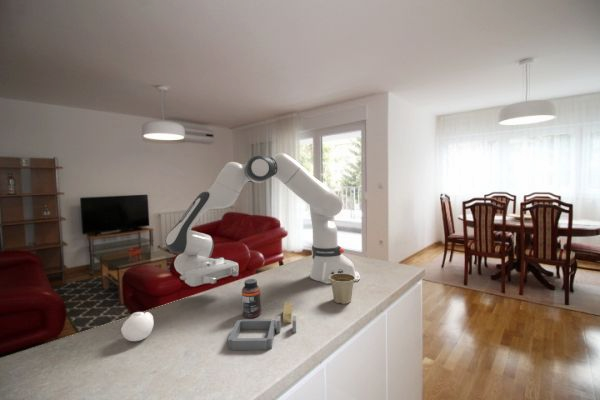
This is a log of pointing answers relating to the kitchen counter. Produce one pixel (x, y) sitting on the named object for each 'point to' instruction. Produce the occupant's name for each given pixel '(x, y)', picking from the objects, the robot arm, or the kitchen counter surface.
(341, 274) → the flower pot
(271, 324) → the dock
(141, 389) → the kitchen counter surface
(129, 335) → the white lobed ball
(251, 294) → the supplement bottle
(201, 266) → the robot arm
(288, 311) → the bar
